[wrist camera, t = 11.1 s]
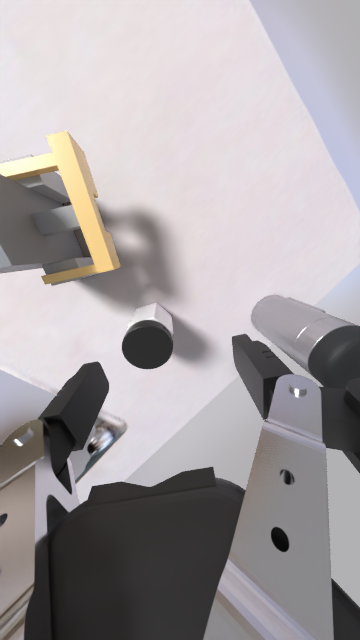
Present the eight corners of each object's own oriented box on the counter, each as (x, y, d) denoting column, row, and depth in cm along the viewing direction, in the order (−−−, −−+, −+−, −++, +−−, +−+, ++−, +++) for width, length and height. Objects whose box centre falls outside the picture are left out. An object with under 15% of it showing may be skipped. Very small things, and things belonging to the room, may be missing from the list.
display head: (99, 171, 29) (20, 72, 13) (129, 265, 34) (99, 277, 18) (18, 191, 29) (-162, 115, 13) (61, 281, 34) (-27, 307, 18)
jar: (166, 341, 41) (166, 375, 30) (131, 335, 40) (118, 367, 29) (174, 306, 38) (179, 328, 27) (137, 298, 37) (125, 318, 26)
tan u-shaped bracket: (83, 152, 21) (66, 130, 18) (121, 267, 27) (114, 269, 23) (-5, 171, 21) (-41, 154, 18) (50, 283, 27) (31, 288, 23)
